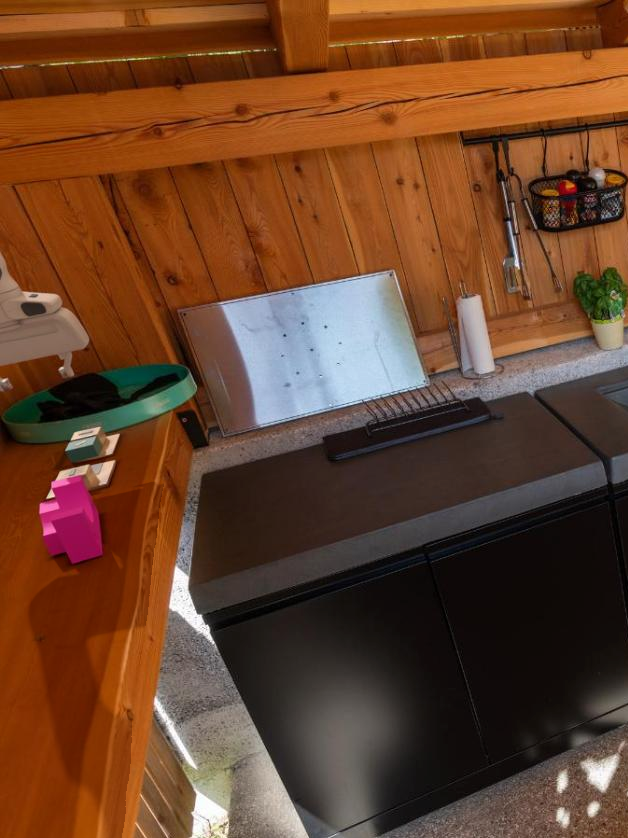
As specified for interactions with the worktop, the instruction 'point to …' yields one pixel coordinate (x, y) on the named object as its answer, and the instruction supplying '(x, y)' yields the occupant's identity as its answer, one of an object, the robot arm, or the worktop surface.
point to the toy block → (71, 521)
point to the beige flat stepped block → (106, 442)
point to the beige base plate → (89, 475)
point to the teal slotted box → (83, 449)
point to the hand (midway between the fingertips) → (38, 383)
